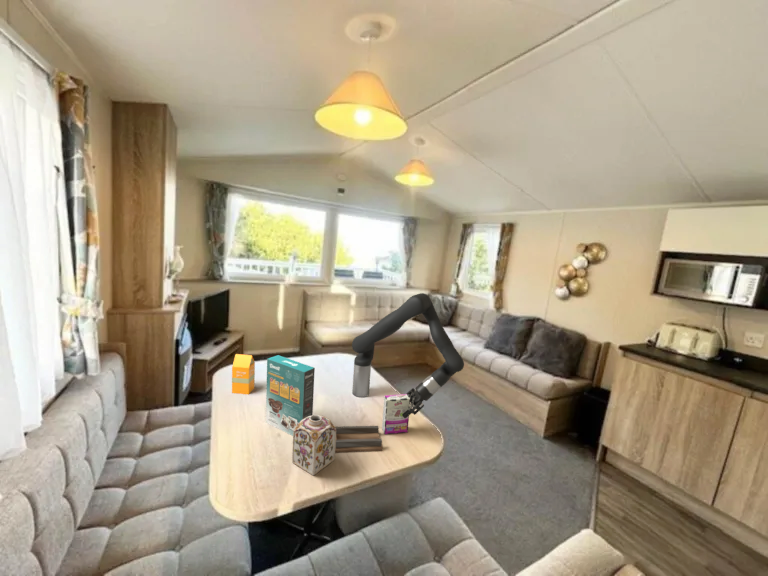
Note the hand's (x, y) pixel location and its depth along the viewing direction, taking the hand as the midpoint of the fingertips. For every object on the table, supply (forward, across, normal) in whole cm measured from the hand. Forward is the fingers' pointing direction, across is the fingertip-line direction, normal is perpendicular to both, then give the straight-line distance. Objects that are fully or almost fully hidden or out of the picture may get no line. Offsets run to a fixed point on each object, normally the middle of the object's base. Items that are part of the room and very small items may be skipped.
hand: (401, 411), depth 152 cm
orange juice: (+61, -40, -47) cm, 87 cm away
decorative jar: (+33, +19, -20) cm, 43 cm away
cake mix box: (+42, -4, -28) cm, 50 cm away
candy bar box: (+8, 0, +5) cm, 10 cm away
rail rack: (+21, +7, -8) cm, 23 cm away
